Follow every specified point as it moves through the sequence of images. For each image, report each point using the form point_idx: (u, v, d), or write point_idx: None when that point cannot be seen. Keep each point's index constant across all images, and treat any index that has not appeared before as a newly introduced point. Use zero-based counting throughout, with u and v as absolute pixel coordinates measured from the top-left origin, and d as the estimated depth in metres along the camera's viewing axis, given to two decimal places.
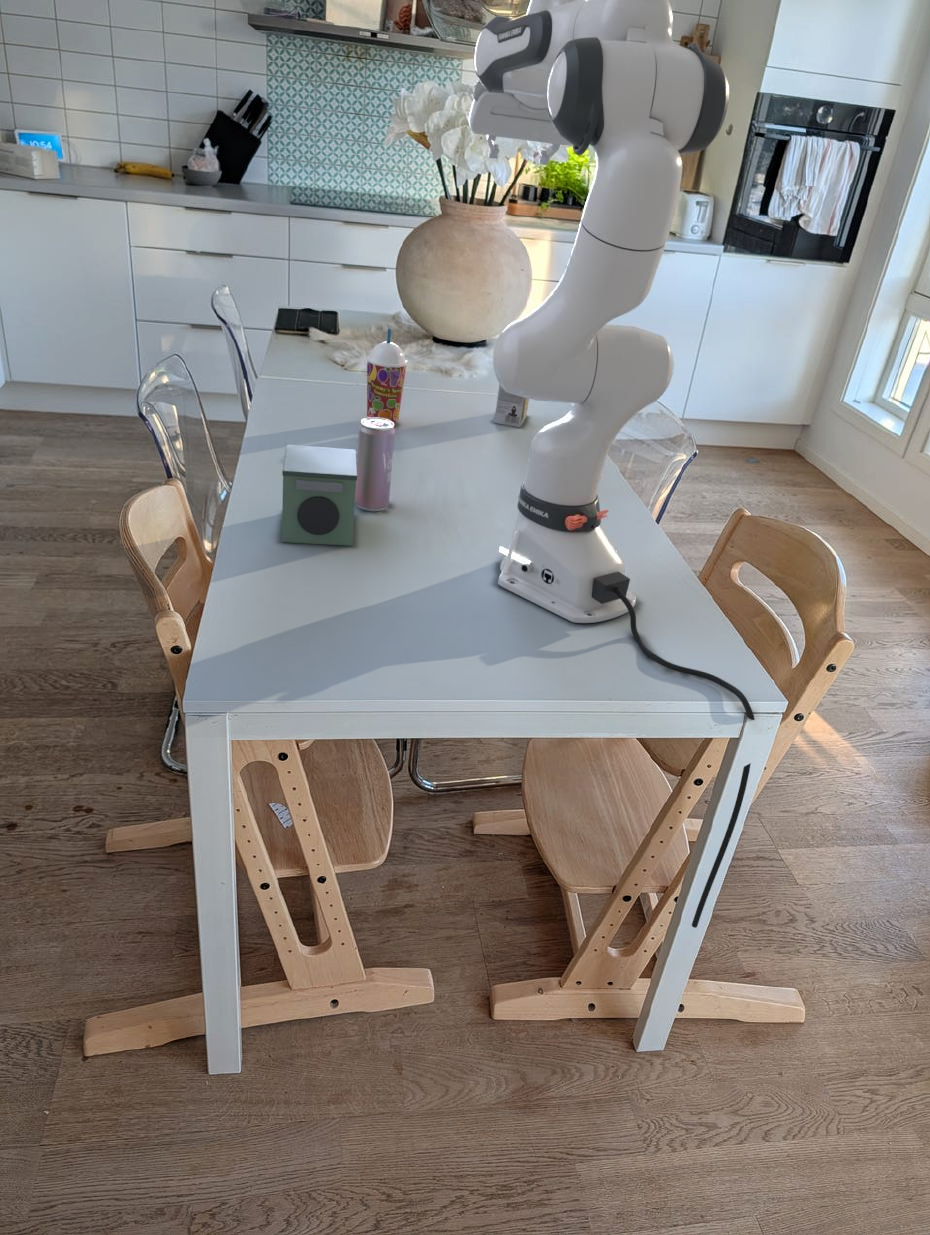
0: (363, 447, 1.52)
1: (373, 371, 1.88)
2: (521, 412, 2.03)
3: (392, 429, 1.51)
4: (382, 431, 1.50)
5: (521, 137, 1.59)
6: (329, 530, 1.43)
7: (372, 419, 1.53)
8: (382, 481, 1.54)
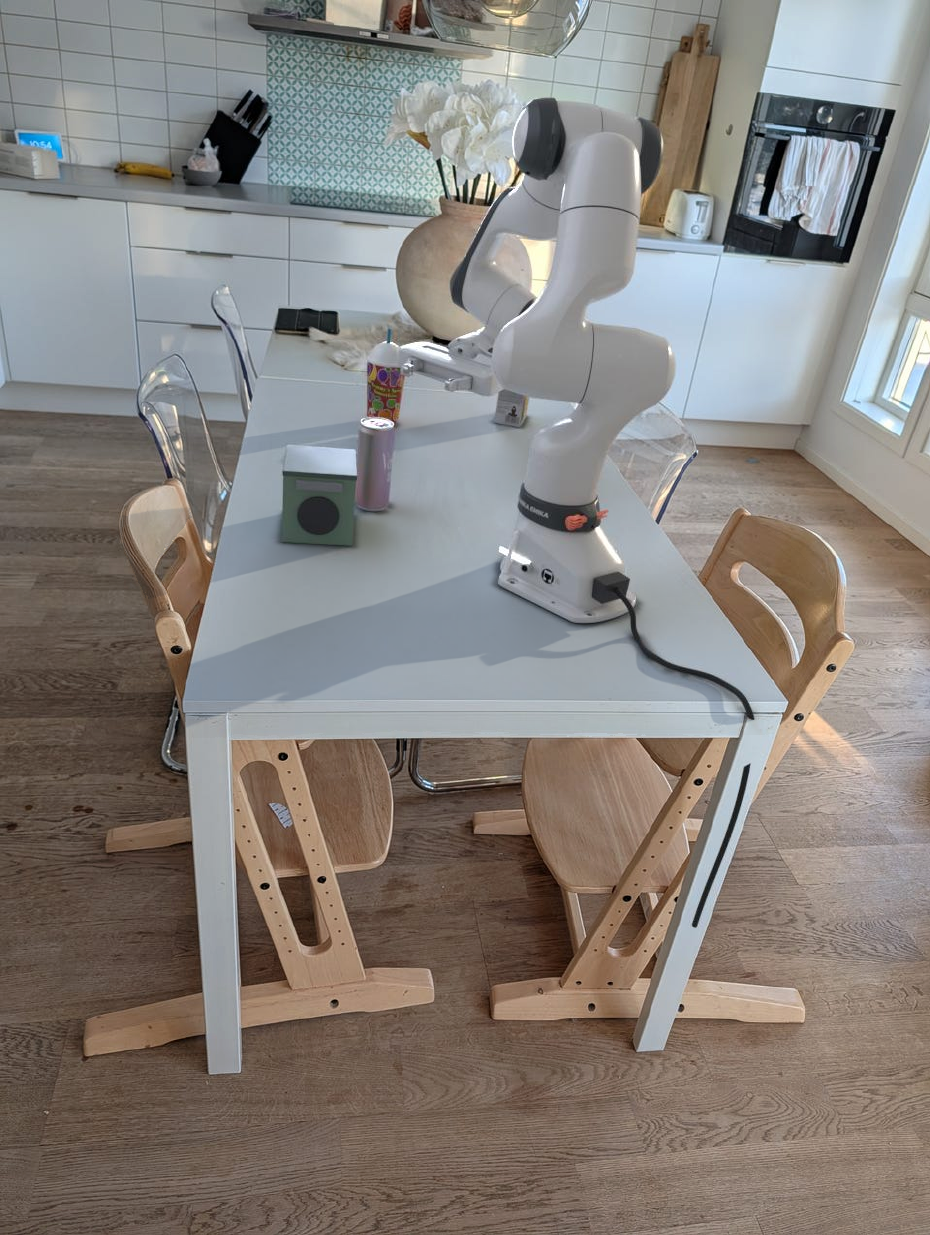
0: (363, 447, 1.52)
1: (373, 371, 1.88)
2: (521, 412, 2.03)
3: (392, 429, 1.51)
4: (382, 431, 1.50)
5: (439, 360, 1.62)
6: (329, 530, 1.43)
7: (372, 419, 1.53)
8: (382, 481, 1.54)
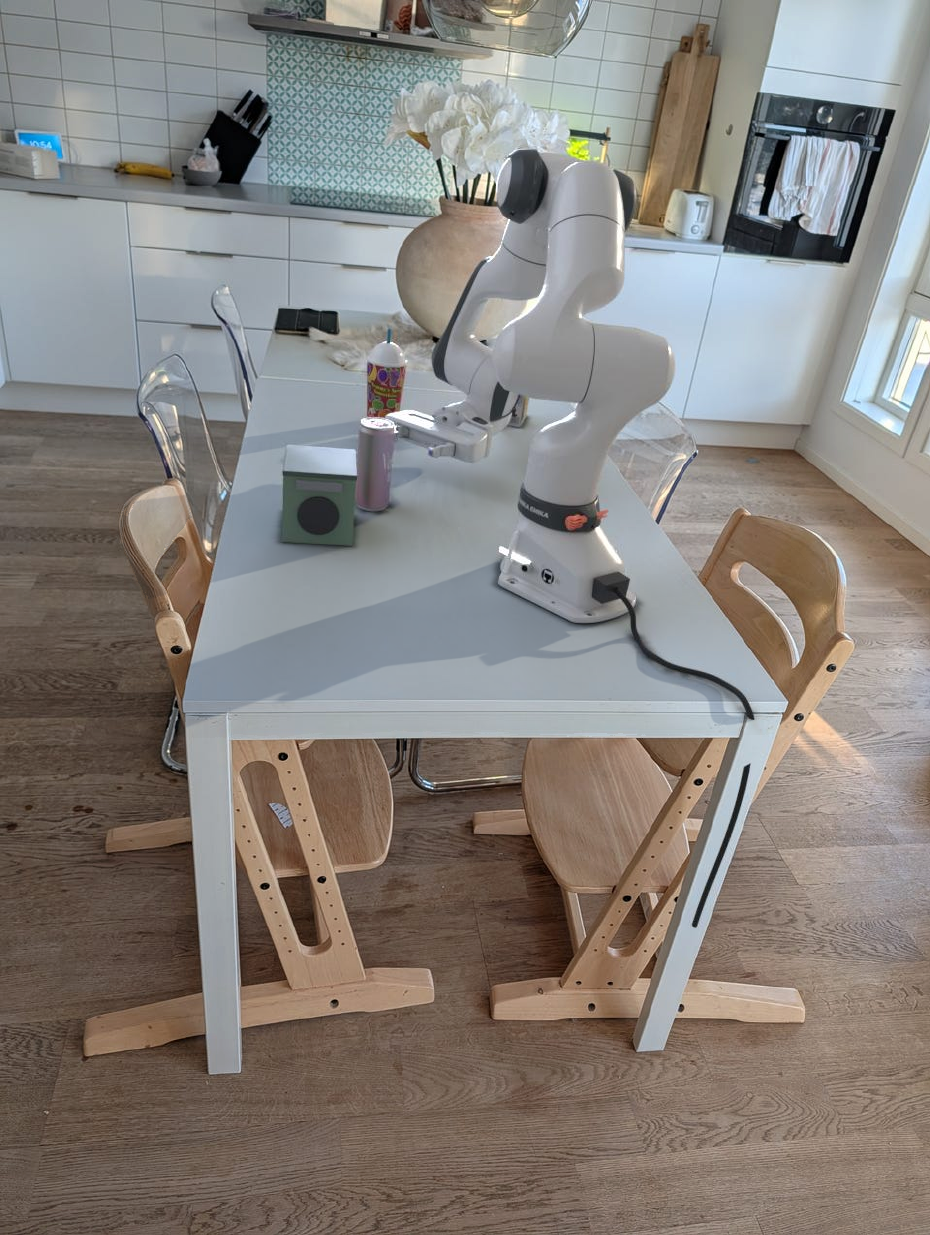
0: (363, 447, 1.52)
1: (373, 371, 1.88)
2: (521, 412, 2.03)
3: (392, 429, 1.51)
4: (382, 431, 1.50)
5: (424, 427, 1.66)
6: (329, 530, 1.43)
7: (372, 419, 1.53)
8: (382, 481, 1.54)
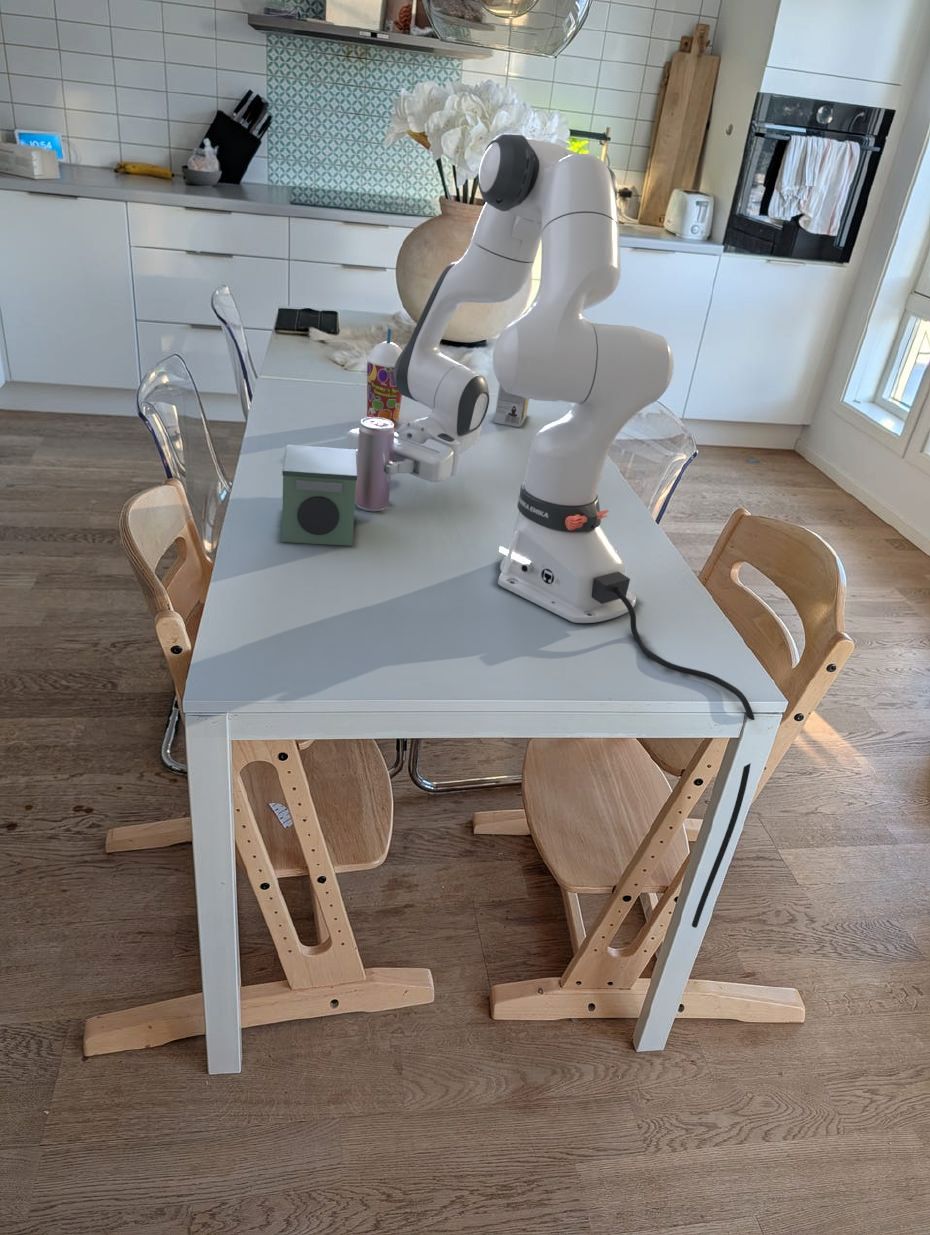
0: (363, 447, 1.52)
1: (373, 371, 1.88)
2: (521, 412, 2.03)
3: (392, 429, 1.51)
4: (381, 431, 1.50)
5: None
6: (329, 530, 1.43)
7: (372, 419, 1.53)
8: (382, 481, 1.54)
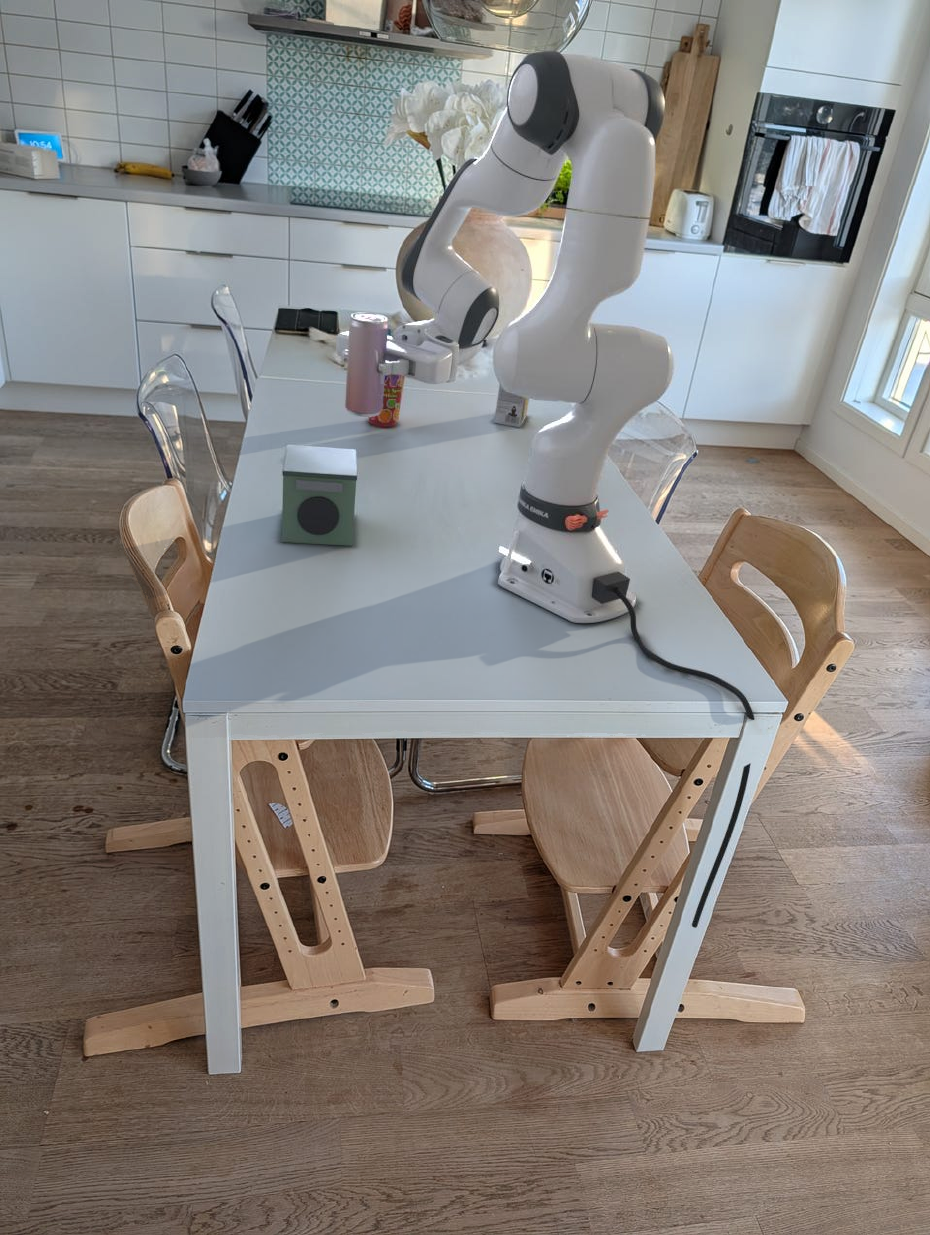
0: (354, 343, 1.40)
1: None
2: (521, 412, 2.03)
3: (385, 323, 1.39)
4: (374, 325, 1.38)
5: None
6: (329, 530, 1.43)
7: (363, 314, 1.41)
8: (375, 382, 1.42)
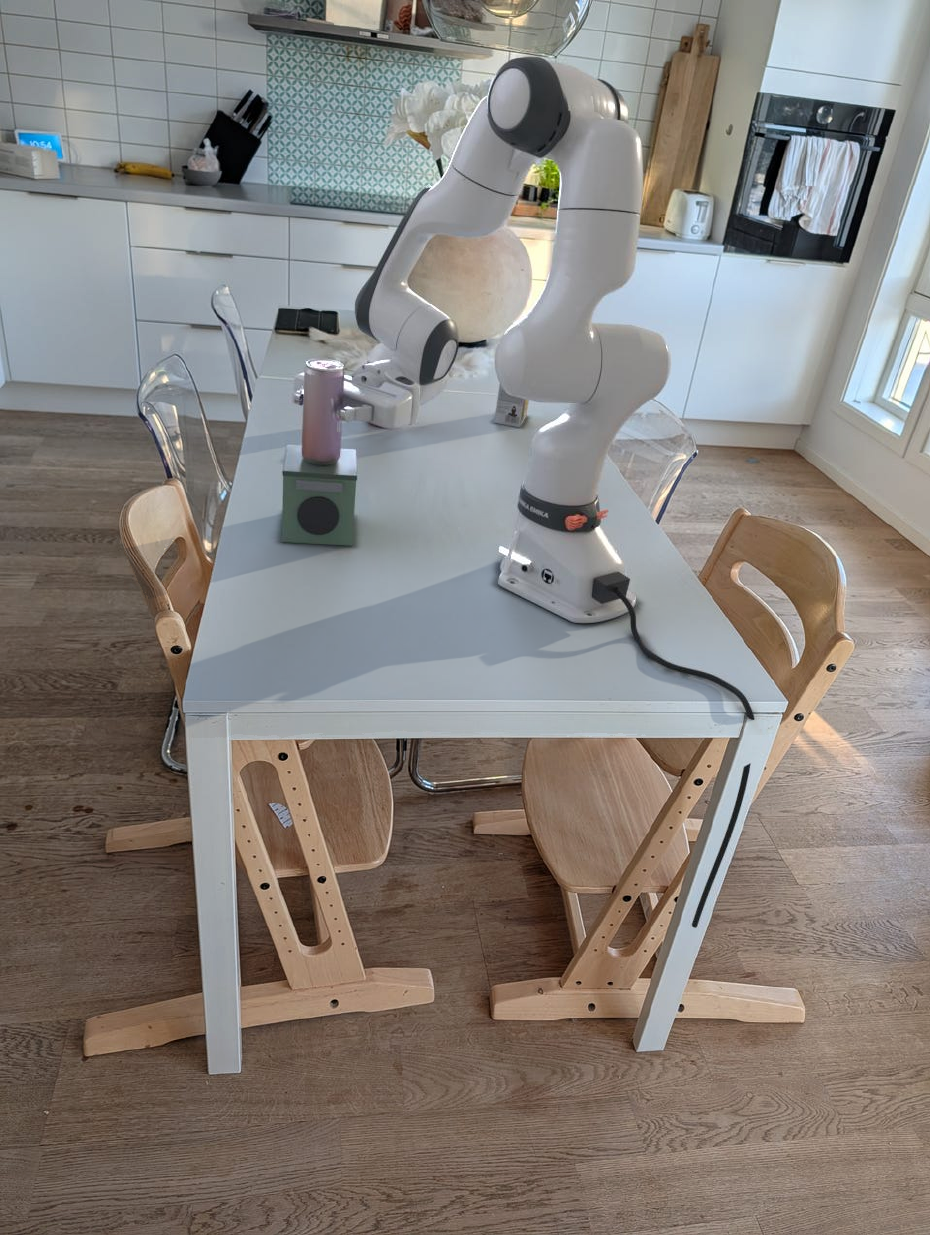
0: (308, 391, 1.35)
1: None
2: (521, 412, 2.03)
3: (341, 371, 1.35)
4: (329, 373, 1.33)
5: None
6: (329, 530, 1.43)
7: (319, 360, 1.37)
8: (331, 430, 1.38)
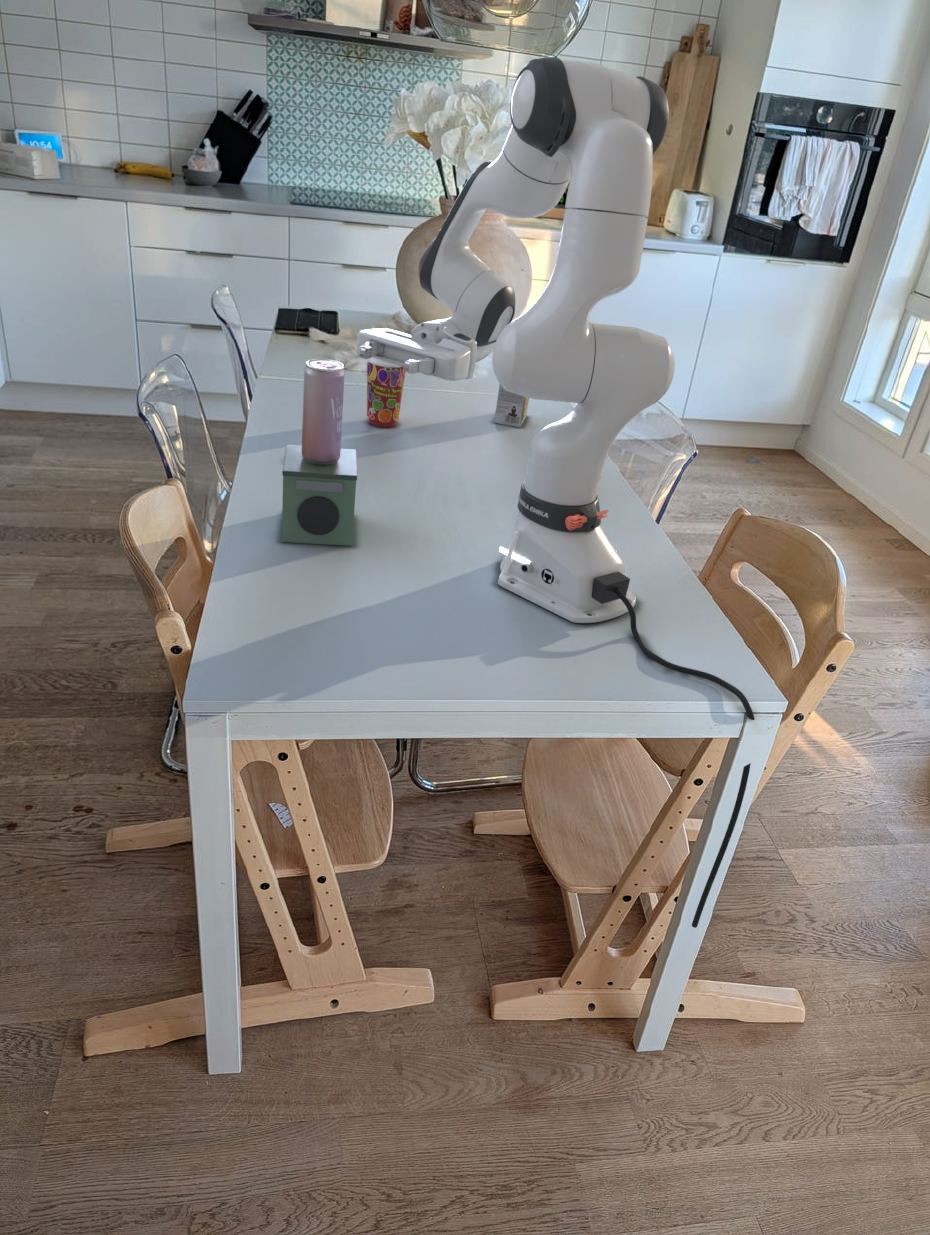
0: (308, 391, 1.35)
1: (373, 371, 1.88)
2: (521, 412, 2.03)
3: (341, 371, 1.35)
4: (329, 373, 1.33)
5: (400, 343, 1.50)
6: (329, 530, 1.43)
7: (319, 361, 1.37)
8: (331, 430, 1.38)
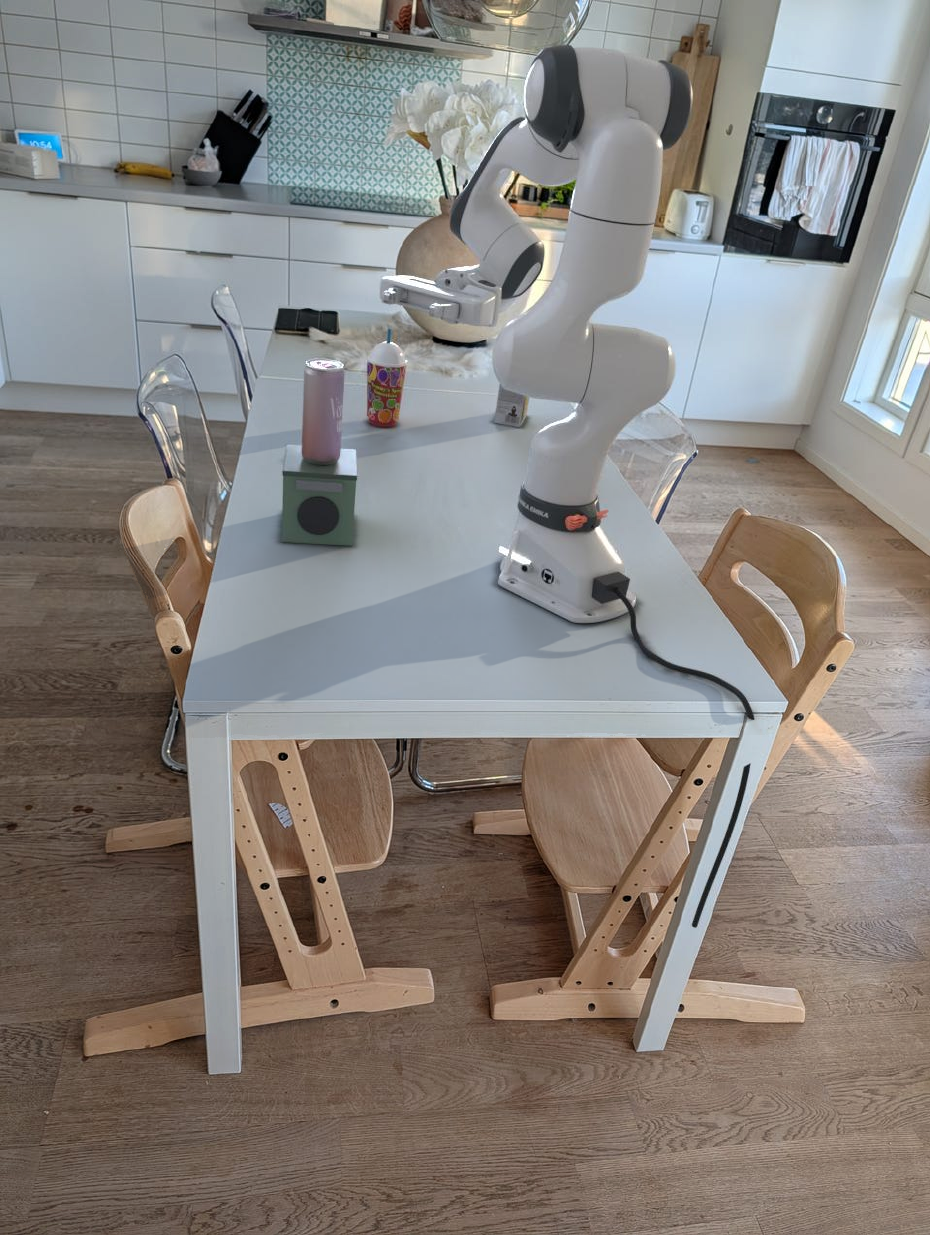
0: (308, 391, 1.35)
1: (373, 371, 1.88)
2: (521, 412, 2.03)
3: (341, 371, 1.35)
4: (329, 373, 1.33)
5: (424, 288, 1.48)
6: (329, 530, 1.43)
7: (319, 360, 1.37)
8: (331, 430, 1.38)
